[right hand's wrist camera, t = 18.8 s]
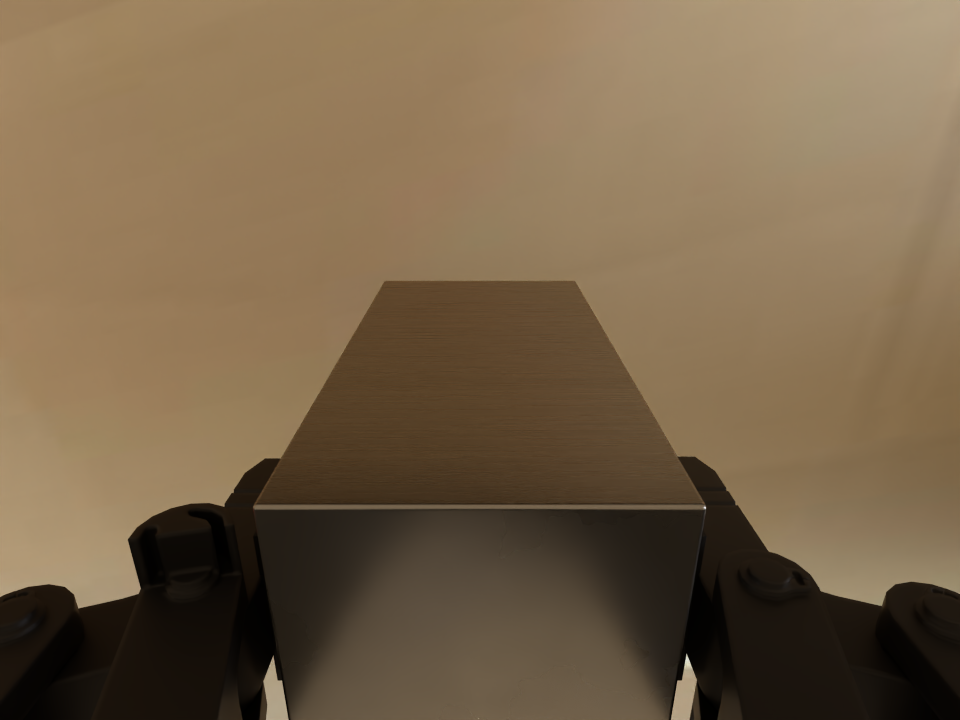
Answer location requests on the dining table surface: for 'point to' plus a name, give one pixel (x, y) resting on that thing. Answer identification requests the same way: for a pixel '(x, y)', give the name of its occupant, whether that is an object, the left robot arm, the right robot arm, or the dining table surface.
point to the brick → (479, 520)
